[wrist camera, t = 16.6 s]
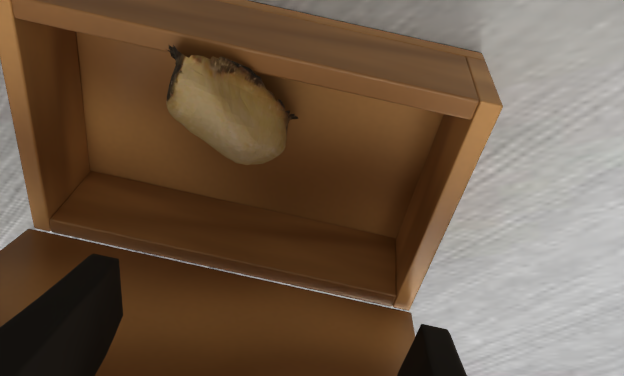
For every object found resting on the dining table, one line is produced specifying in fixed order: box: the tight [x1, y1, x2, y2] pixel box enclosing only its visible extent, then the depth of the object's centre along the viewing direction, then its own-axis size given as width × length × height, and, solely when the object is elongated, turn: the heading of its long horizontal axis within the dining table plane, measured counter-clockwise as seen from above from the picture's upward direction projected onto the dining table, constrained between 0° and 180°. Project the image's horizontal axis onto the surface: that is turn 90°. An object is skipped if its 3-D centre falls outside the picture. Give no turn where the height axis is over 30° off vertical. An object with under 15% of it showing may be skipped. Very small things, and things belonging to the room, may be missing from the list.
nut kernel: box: [166, 45, 298, 165], centre depth 17 cm, size 6×5×3 cm
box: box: [0, 0, 503, 310], centre depth 19 cm, size 9×15×4 cm, turn 80°
